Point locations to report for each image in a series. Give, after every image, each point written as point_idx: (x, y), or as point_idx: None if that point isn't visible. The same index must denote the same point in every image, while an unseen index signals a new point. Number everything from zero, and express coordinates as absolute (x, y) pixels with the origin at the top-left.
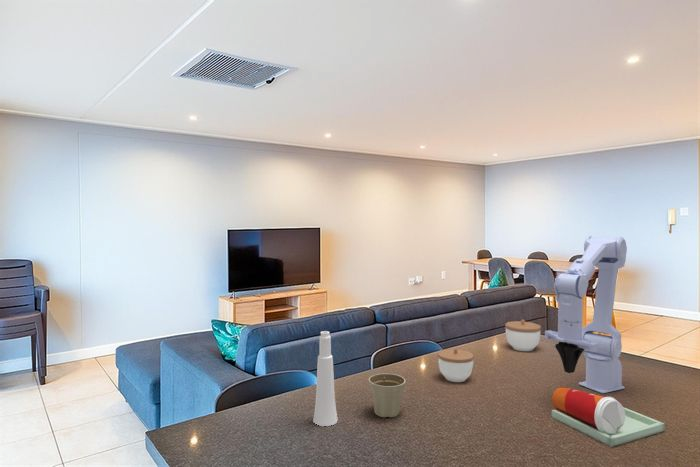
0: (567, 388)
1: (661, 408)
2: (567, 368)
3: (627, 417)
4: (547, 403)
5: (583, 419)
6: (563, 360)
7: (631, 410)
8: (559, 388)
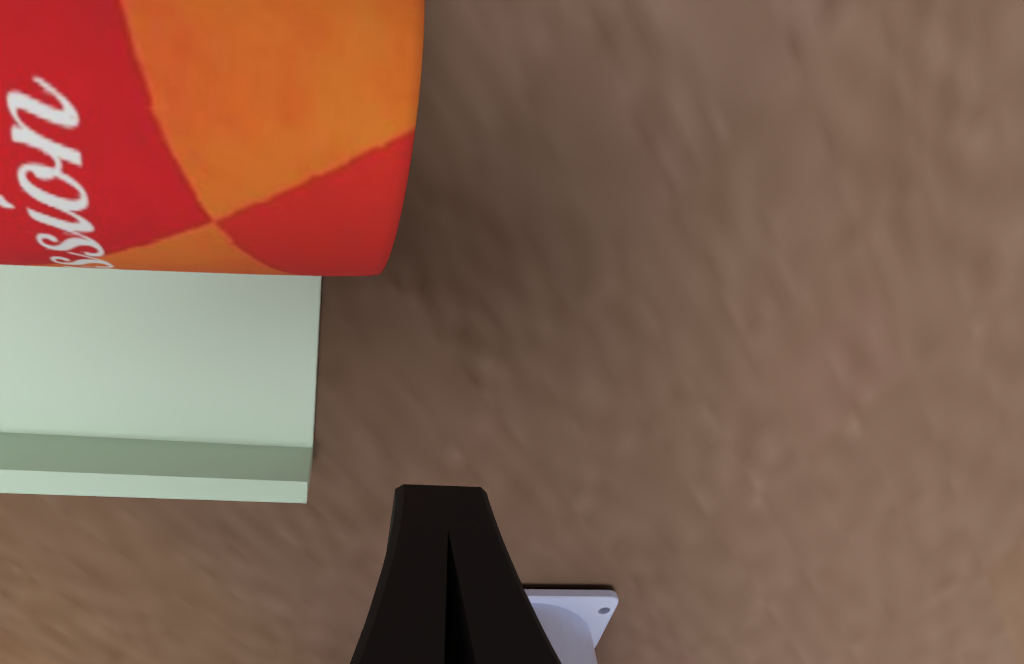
0: (251, 180)
1: (110, 654)
2: (412, 539)
3: (15, 415)
4: (602, 148)
5: None
6: (507, 661)
7: (13, 491)
8: (370, 124)
